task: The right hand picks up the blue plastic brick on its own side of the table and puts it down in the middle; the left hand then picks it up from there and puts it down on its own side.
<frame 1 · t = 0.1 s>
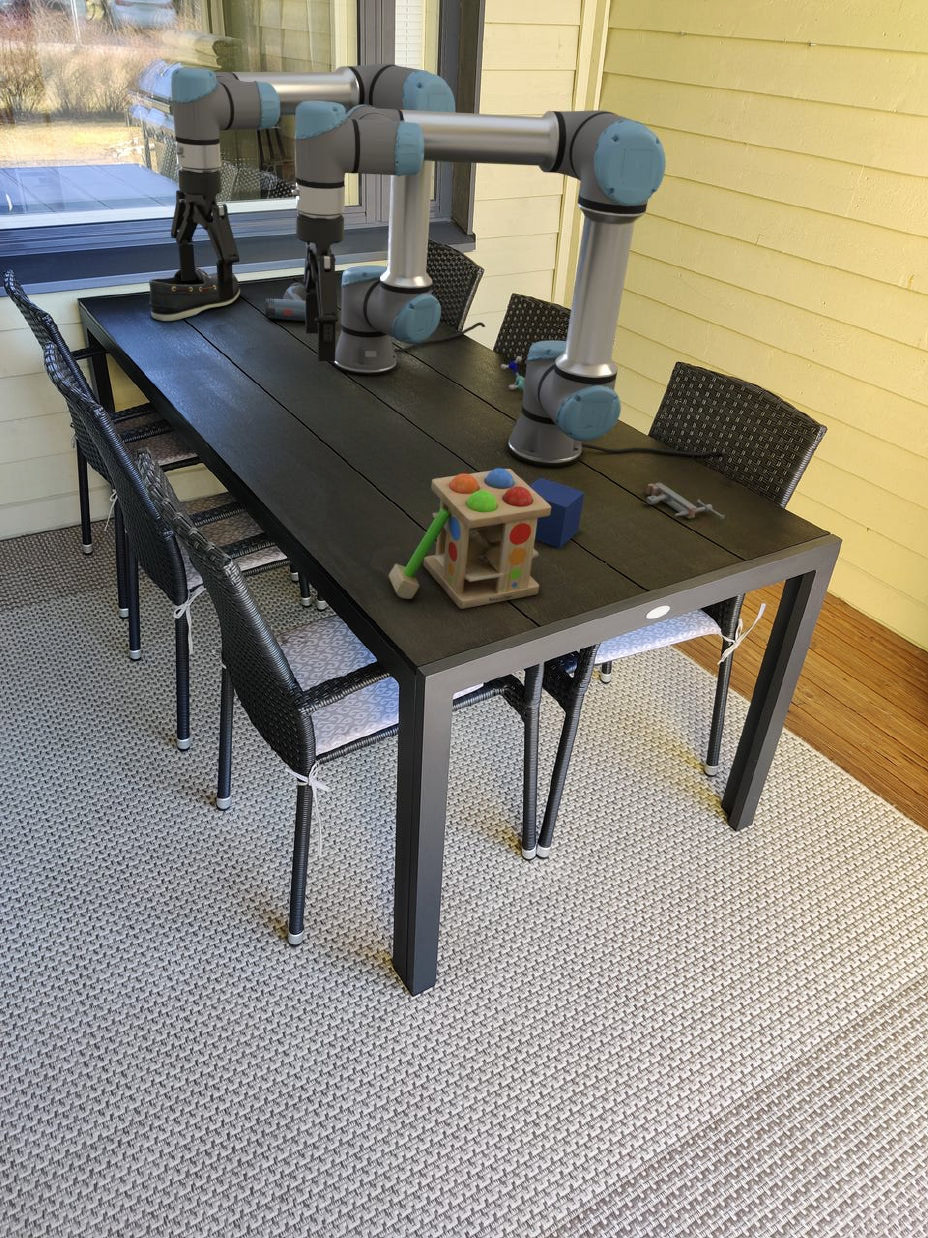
left hand: (206, 289, 186), 28 cm above the table, tool pointing down, fingers open, 13 cm apart
right hand: (320, 346, 165), 28 cm above the table, tool pointing down, fingers open, 13 cm apart
boat shoe: (196, 305, 265), on the table
molecular model: (521, 392, 232), on the table
clamp: (678, 510, 188), on the table
pounding bench toy: (457, 584, 159), on the table
power drill: (305, 313, 267), on the table
brick: (546, 532, 176), on the table
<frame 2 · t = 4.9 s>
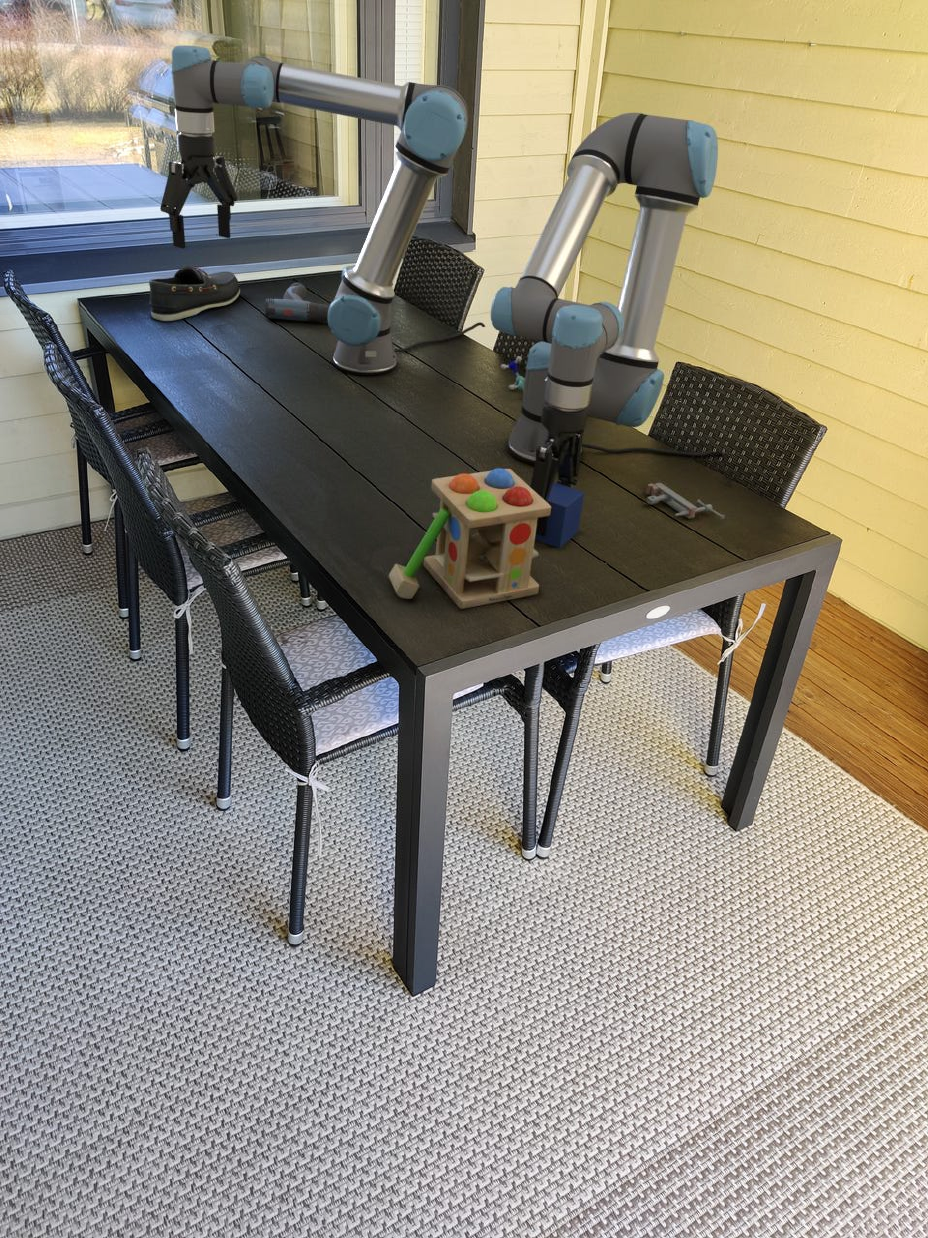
left hand: (202, 241, 212), 28 cm above the table, tool pointing down, fingers open, 13 cm apart
right hand: (548, 524, 175), 2 cm above the table, tool pointing down, fingers closed on brick, 7 cm apart
brick: (546, 532, 176), on the table, touching right hand
everything else where it was.
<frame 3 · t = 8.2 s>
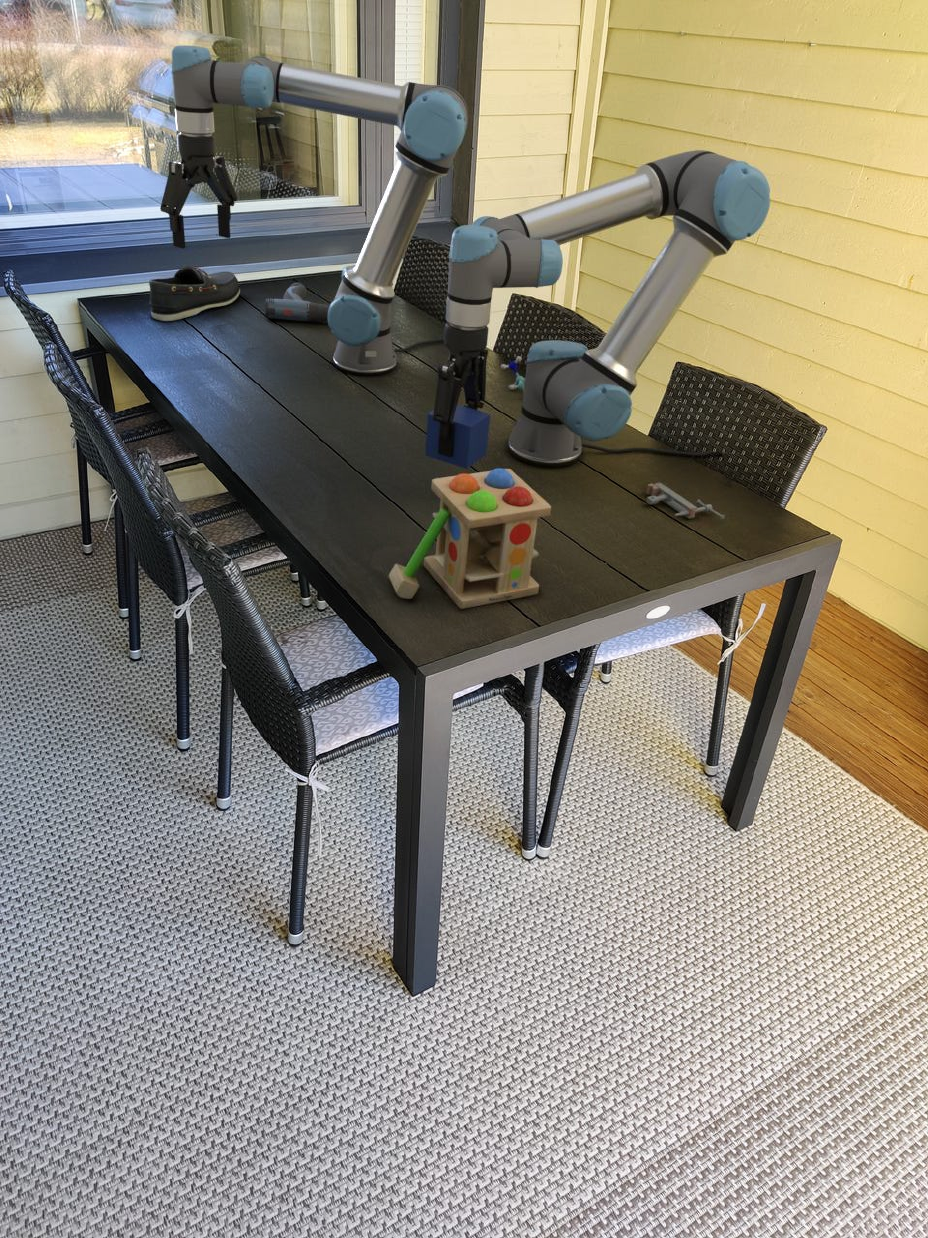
left hand: (202, 241, 212), 28 cm above the table, tool pointing down, fingers open, 13 cm apart
right hand: (456, 447, 180), 10 cm above the table, tool pointing down, fingers closed on brick, 7 cm apart
brick: (455, 455, 181), point 8 cm above the table, touching right hand
everything else where it was.
when the right hand's fingers open (3 cm above the table, at t = 11.5 s): brick drops 1 cm, on the table.
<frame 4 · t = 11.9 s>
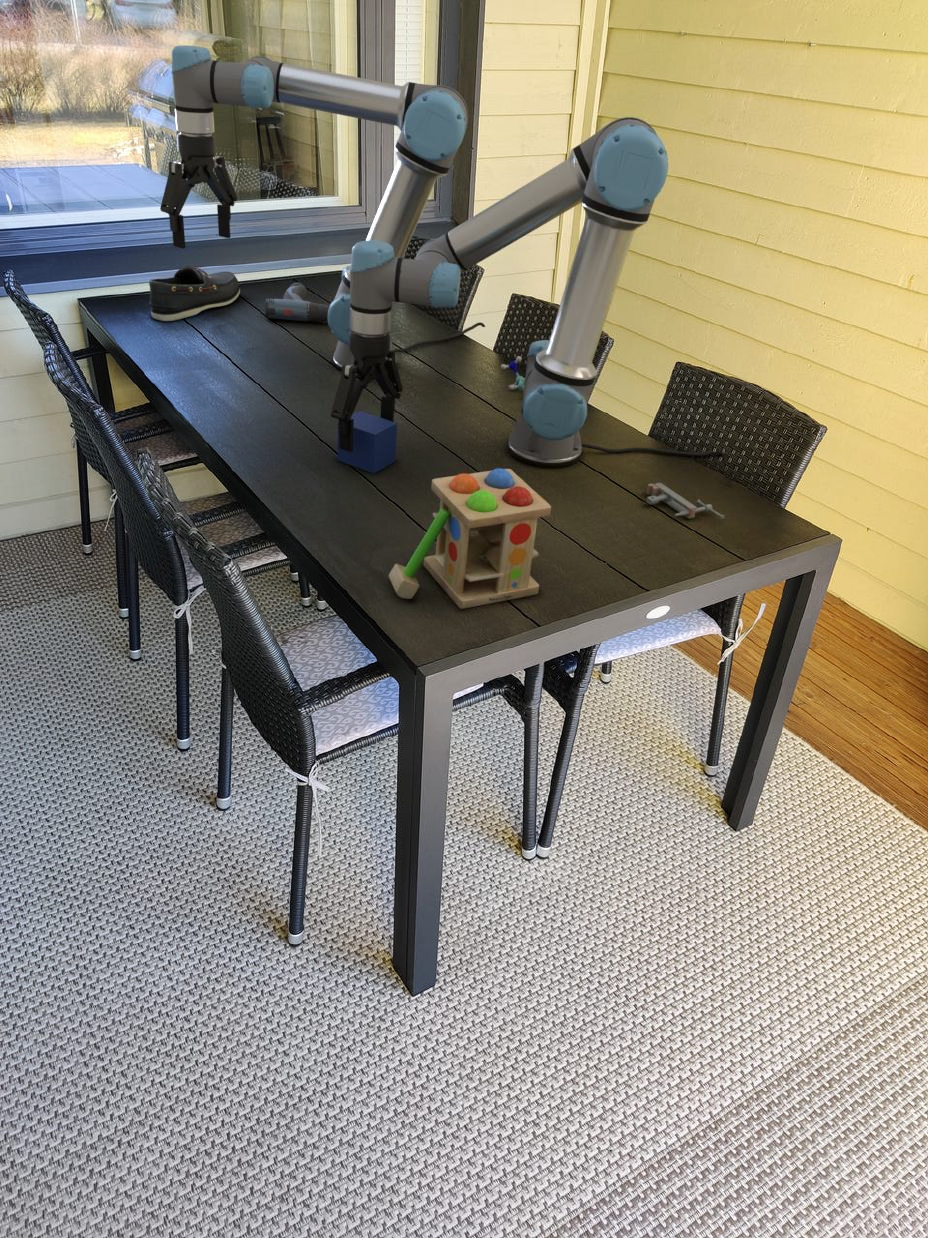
left hand: (202, 241, 212), 28 cm above the table, tool pointing down, fingers open, 13 cm apart
right hand: (366, 439, 192), 5 cm above the table, tool pointing down, fingers open, 13 cm apart
brick: (366, 460, 194), on the table
everything else where it was.
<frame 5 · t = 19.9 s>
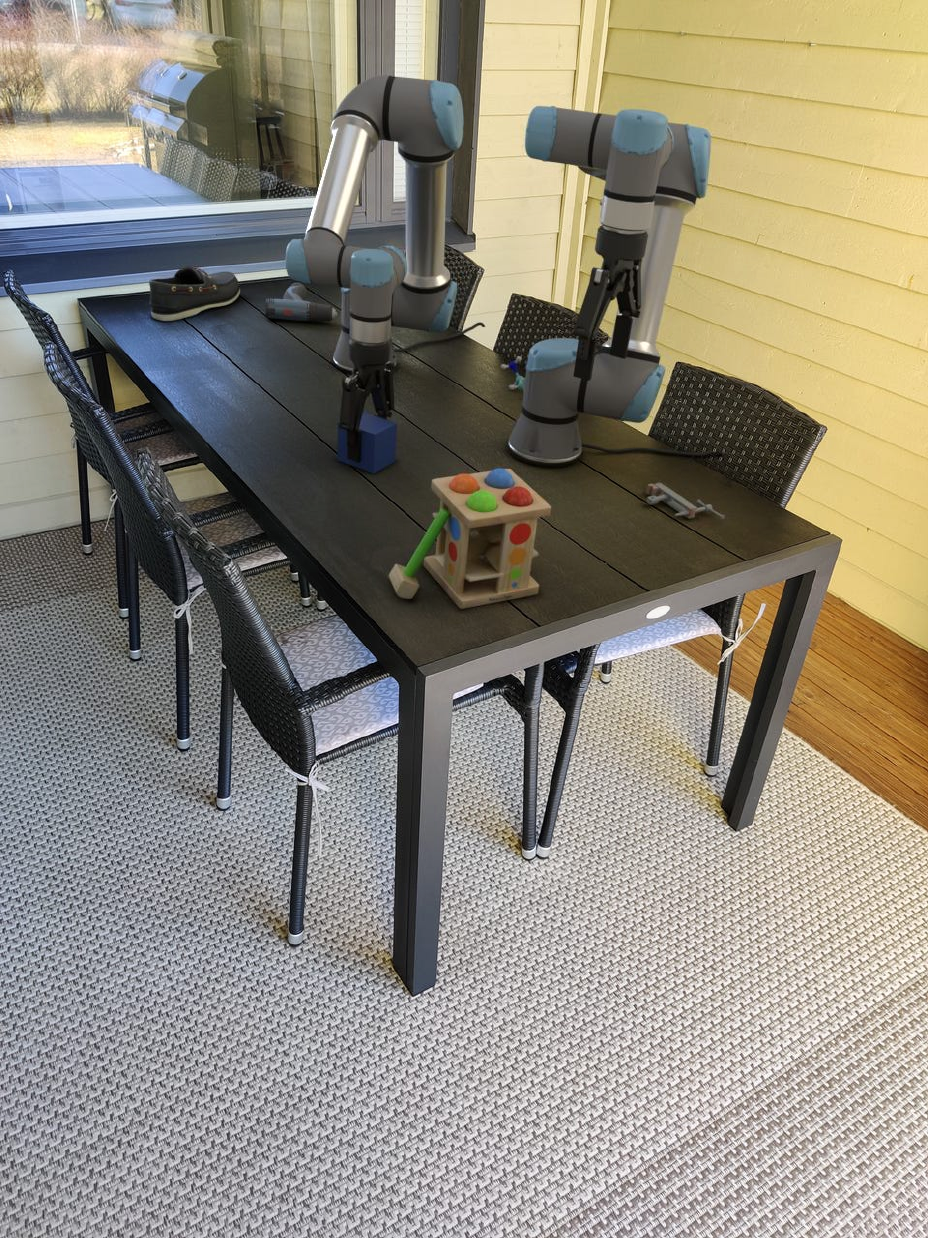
left hand: (366, 453, 193), 2 cm above the table, tool pointing down, fingers closed on brick, 7 cm apart
right hand: (600, 367, 157), 32 cm above the table, tool pointing down, fingers open, 13 cm apart
brick: (366, 460, 194), on the table, touching left hand
everything else where it was.
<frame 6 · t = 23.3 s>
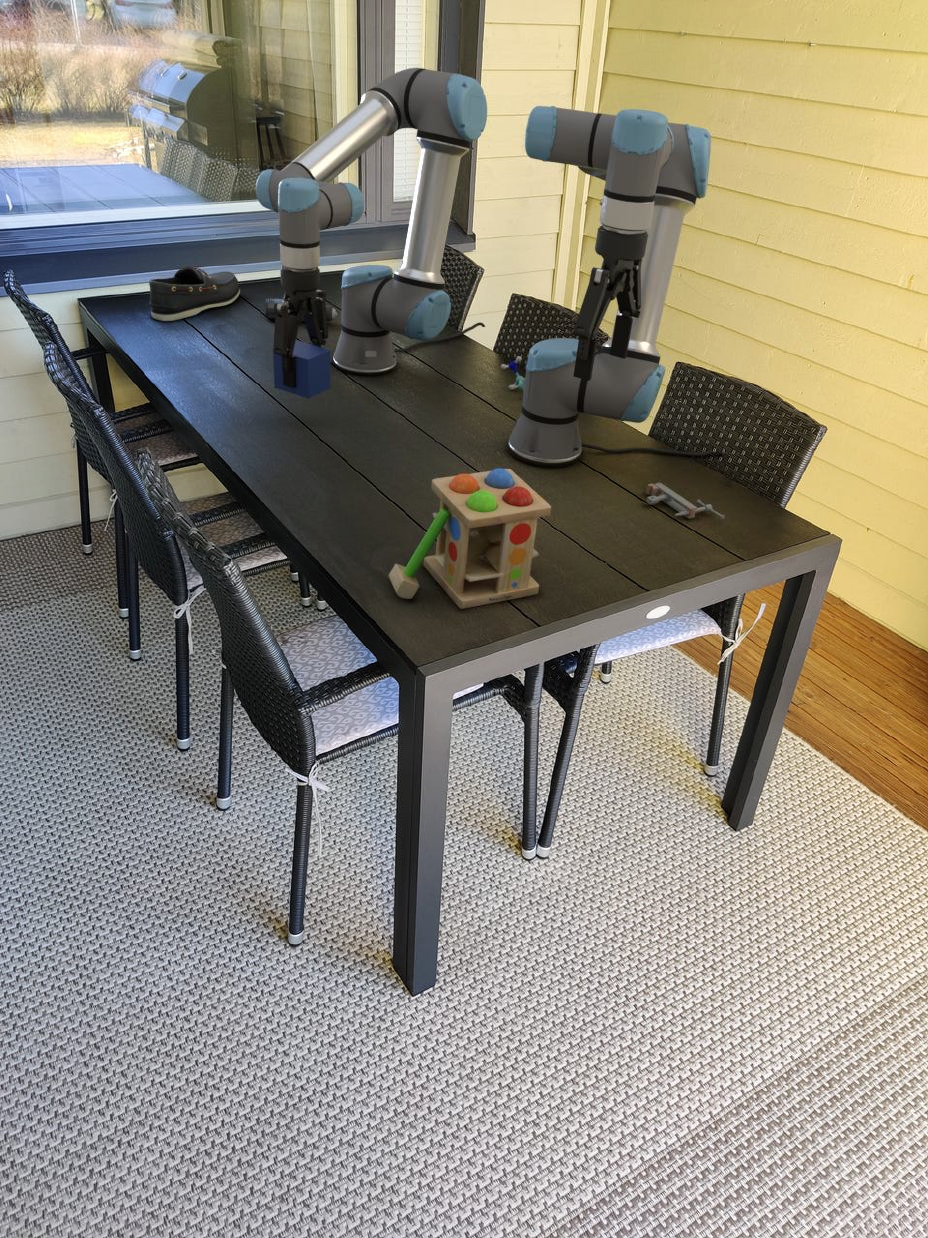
left hand: (302, 380, 201), 9 cm above the table, tool pointing down, fingers closed on brick, 7 cm apart
right hand: (600, 367, 157), 32 cm above the table, tool pointing down, fingers open, 13 cm apart
brick: (302, 387, 202), point 8 cm above the table, touching left hand
everything else where it was.
when the left hand's fingers open (3 cm above the table, at t = 27.2 s): brick drops 1 cm, on the table.
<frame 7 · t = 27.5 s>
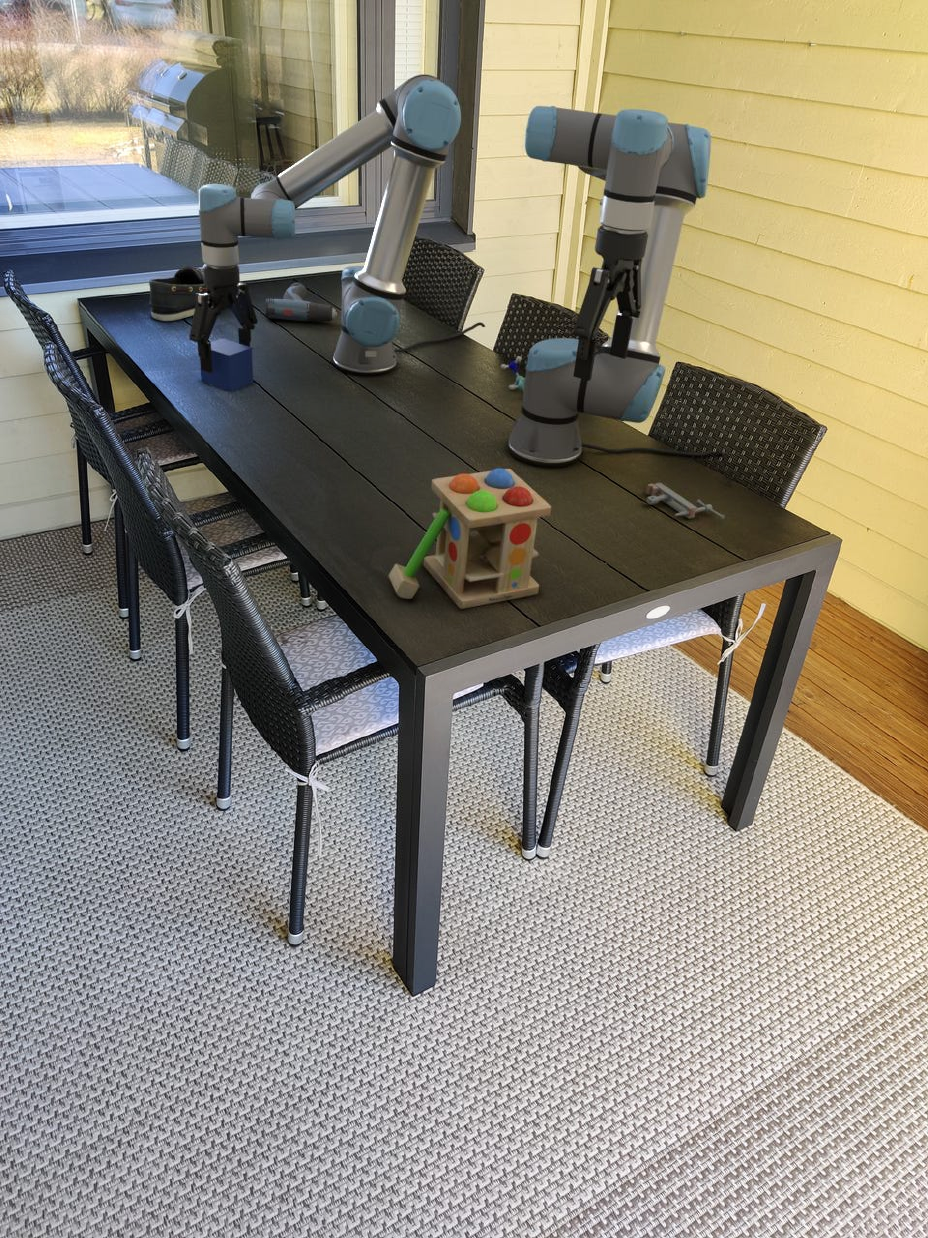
left hand: (226, 363, 220), 4 cm above the table, tool pointing down, fingers open, 11 cm apart
right hand: (600, 367, 157), 32 cm above the table, tool pointing down, fingers open, 13 cm apart
brick: (227, 381, 222), on the table
everything else where it was.
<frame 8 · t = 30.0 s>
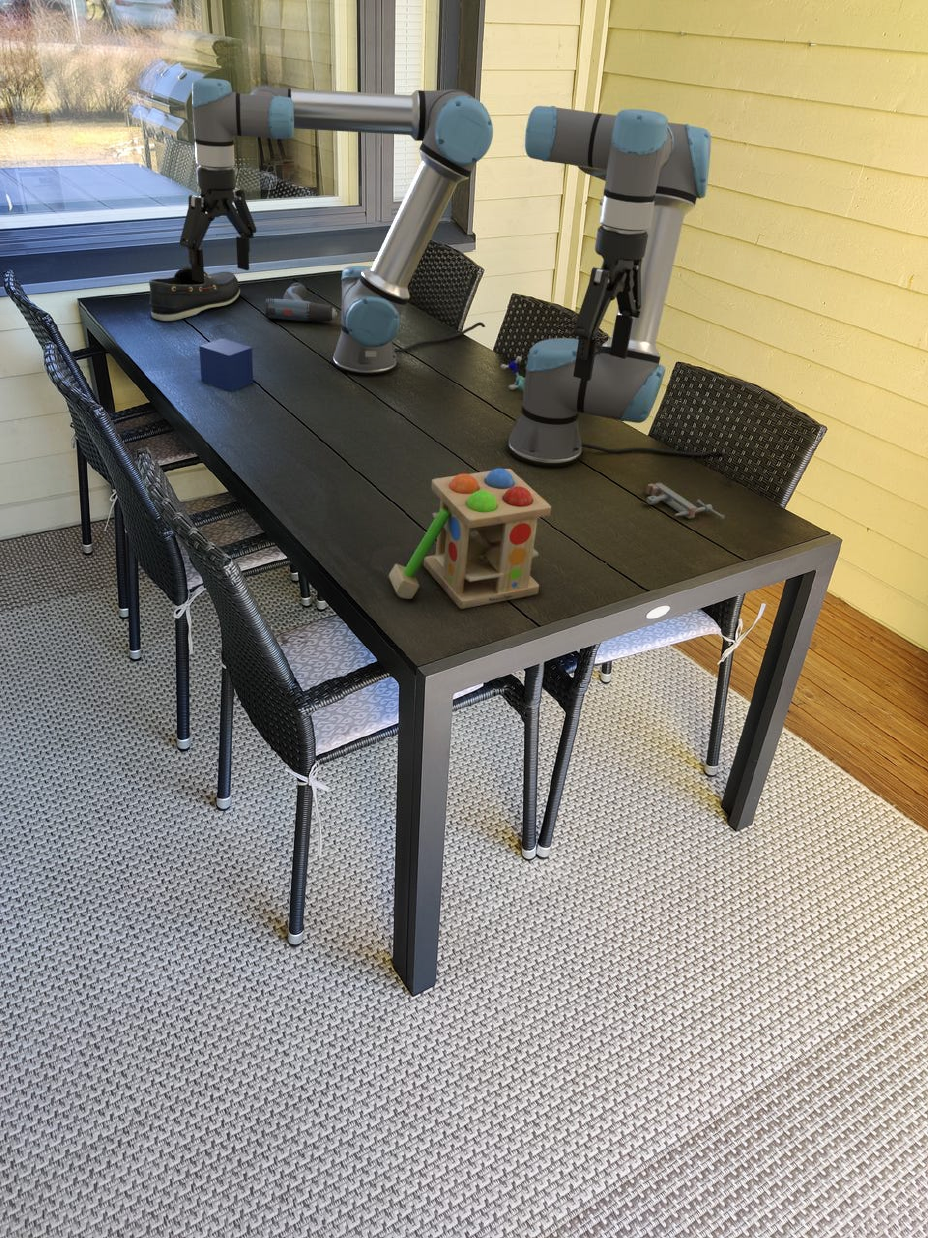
left hand: (221, 274, 209), 24 cm above the table, tool pointing down, fingers open, 13 cm apart
right hand: (600, 367, 157), 32 cm above the table, tool pointing down, fingers open, 13 cm apart
nothing on the table moved.
at the end: brick inside the target area (0.1 cm from its centre), on the table; brick tilted 0°; the two hands never held the brick at the same time; the left hand is holding nothing; the right hand is holding nothing; brick at rest at the end (0.0 cm/s) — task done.
